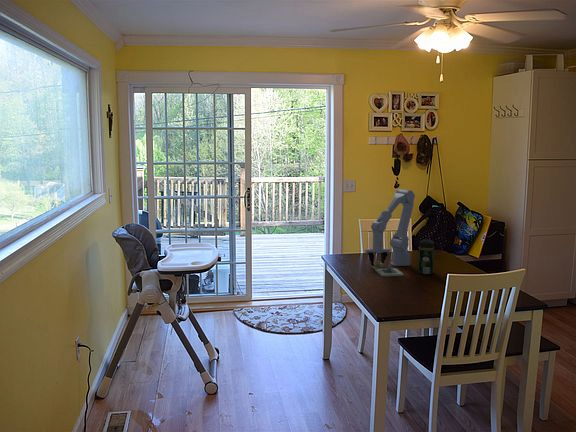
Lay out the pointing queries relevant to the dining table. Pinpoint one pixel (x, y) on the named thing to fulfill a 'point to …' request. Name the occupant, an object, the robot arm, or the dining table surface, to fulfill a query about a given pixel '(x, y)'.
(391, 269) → the pin board
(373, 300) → the dining table surface
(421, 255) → the coffee jar
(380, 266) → the collar
